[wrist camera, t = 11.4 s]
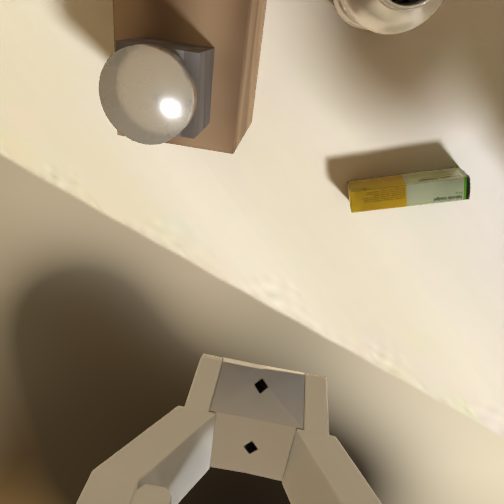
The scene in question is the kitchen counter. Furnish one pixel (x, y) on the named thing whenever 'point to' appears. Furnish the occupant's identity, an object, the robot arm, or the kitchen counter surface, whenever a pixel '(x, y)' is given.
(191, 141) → the stand
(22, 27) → the kitchen counter surface
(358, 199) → the medication box
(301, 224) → the kitchen counter surface
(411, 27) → the plastic bottle
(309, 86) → the kitchen counter surface
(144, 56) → the grey plunger
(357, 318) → the kitchen counter surface
